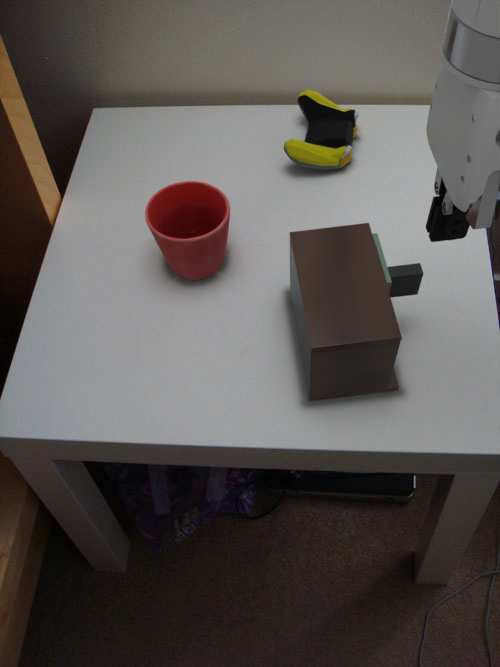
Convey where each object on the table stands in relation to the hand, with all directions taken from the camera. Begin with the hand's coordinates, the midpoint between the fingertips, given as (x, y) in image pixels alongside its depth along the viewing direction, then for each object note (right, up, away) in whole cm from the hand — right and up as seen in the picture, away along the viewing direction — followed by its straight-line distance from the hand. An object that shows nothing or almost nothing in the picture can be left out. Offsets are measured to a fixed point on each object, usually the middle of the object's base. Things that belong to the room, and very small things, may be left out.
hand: (445, 233), depth 53 cm
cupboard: (-6, -10, +22) cm, 25 cm away
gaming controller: (-6, +20, +42) cm, 47 cm away
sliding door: (0, -5, +23) cm, 23 cm away
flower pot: (-25, +1, +31) cm, 39 cm away
